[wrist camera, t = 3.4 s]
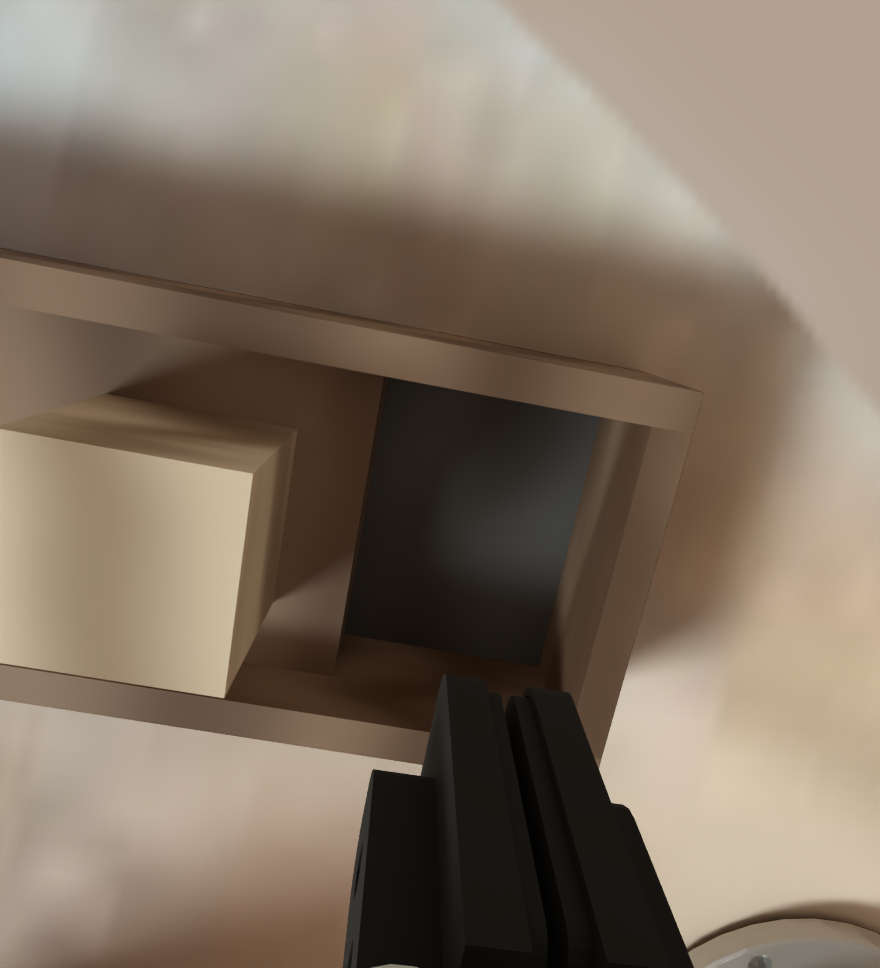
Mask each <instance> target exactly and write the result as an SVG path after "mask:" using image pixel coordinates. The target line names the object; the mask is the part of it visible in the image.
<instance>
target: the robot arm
mask: <svg viewBox="0 0 880 968" xmlns="http://www.w3.org/2000/svg"><path fill="white" fill-rule="evenodd" d="M343 968H880V935H879V934H878V933H876V932H873V931H870V930H867V929H864V928H861V927H858V926H855V925H852V924H849V923H843V922H836V921H830V920H823V919H781V920H775V921H769V922H763V923H758V924H752V925H749V926H746V927H743V928H740V929H737V930H734V931H731V932H727V933H724V934H721V935H719V936H717V937H715V938H714V939H712V940H710V941H708V942H706V943H704V944H702V945H700V946H698V947H696V948H694V949H692V950H691V951H690V952H688V951H687V949H686V946H685V944H684V941H683V939H682V936H681V934H680V931H679V929H678V926H677V924H676V921H675V919H674V916H673V914H672V911H671V909H670V906H669V904H668V901H667V899H666V896H665V894H664V891H663V889H662V886H661V884H660V881H659V879H658V876H657V874H656V872H655V869H654V867H653V864H652V862H651V859H650V857H649V854H648V852H647V849H646V847H645V844H644V842H643V839H642V837H641V834H640V832H639V829H638V827H637V824H636V822H635V819H634V817H633V815H632V814H631V812H630V810H629V809H628V808H627V807H625V806H624V805H621V804H614V803H611V801H610V798H609V796H608V793H607V790H606V788H605V785H604V782H603V780H602V777H601V774H600V771H599V769H598V766H597V763H596V761H595V758H594V755H593V752H592V750H591V747H590V744H589V742H588V739H587V736H586V733H585V731H584V728H583V725H582V723H581V720H580V717H579V715H578V712H577V709H576V706H575V704H574V701H573V698H572V696H571V695H570V693H567V692H561V691H555V690H548V689H542V688H535V687H529V686H528V687H527V688H526V689H525V691H524V693H523V696H522V697H521V696H514V695H511V696H510V697H509V700H508V702H507V706H506V710H505V714H504V708H503V703H502V698H501V695H500V694H499V693H494V692H488V687H487V683H486V680H483V679H477V678H470V677H464V676H457V675H451V674H444V675H443V677H442V680H441V684H440V688H439V693H438V697H437V702H436V707H435V711H434V716H433V721H432V725H431V730H430V735H429V739H428V744H427V749H426V753H425V758H424V763H423V767H422V772H421V776H416V775H409V774H402V773H395V772H388V771H381V770H374V769H373V771H372V774H371V778H370V782H369V787H368V792H367V797H366V803H365V808H364V813H363V818H362V824H361V829H360V835H359V841H358V847H357V854H356V860H355V867H354V874H353V882H352V890H351V898H350V907H349V916H348V925H347V935H346V944H345V953H344V962H343Z"/></svg>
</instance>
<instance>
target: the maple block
mask: <svg viewBox="0 0 880 968" xmlns="http://www.w3.org/2000/svg"><path fill="white" fill-rule="evenodd" d="M297 431H298V429H297V428H291V427H286V426H280V425H275V424H269V423H264V422H258V421H253V420H247V419H242V418H236V417H231V416H225V415H220V414H214V413H209V412H203V411H198V410H192V409H187V408H181V407H176V406H170V405H165V404H159V403H154V402H148V401H143V400H137V399H132V398H126V397H121V396H115V395H110V394H103V395H100V396H96V397H93V398H90V399H86V400H83V401H80V402H76V403H73V404H70V405H66V406H63V407H59V408H56V409H53V410H49V411H46V412H43V413H39V414H36V415H33V416H29V417H26V418H23V419H19V420H16V421H12V422H9V423H6V424H2V425H0V663H3V664H10V665H16V666H22V667H29V668H35V669H41V670H48V671H54V672H61V673H67V674H73V675H80V676H86V677H92V678H99V679H105V680H111V681H118V682H124V683H130V684H137V685H143V686H149V687H156V688H162V689H168V690H175V691H181V692H187V693H194V694H200V695H206V696H213V697H219V698H225V696H226V694H227V692H228V690H229V688H230V686H231V684H232V682H233V680H234V678H235V676H236V674H237V672H238V670H239V668H240V666H241V664H242V662H243V660H244V658H245V656H246V655H247V653H248V651H249V649H250V647H251V645H252V643H253V641H254V639H255V637H256V635H257V633H258V631H259V629H260V627H261V625H262V623H263V621H264V619H265V617H266V615H267V613H268V611H269V609H270V607H271V605H272V603H273V600H274V593H275V586H276V579H277V572H278V565H279V558H280V551H281V544H282V537H283V530H284V523H285V516H286V509H287V502H288V495H289V487H290V480H291V473H292V466H293V459H294V452H295V445H296V438H297Z"/></svg>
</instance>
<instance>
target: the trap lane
mask: <svg viewBox="0 0 880 968" xmlns="http://www.w3.org/2000/svg"><path fill="white" fill-rule="evenodd" d="M103 394H110V395H115V396H121V397H126V398H132V399H137V400H143V401H148V402H154V403H159V404H165V405H170V406H176V407H181V408H187V409H192V410H198V411H203V412H209V413H214V414H220V415H225V416H231V417H236V418H242V419H247V420H253V421H258V422H264V423H269V424H275V425H280V426H286V427H291V428H297V429H298V431H297V438H296V445H295V452H294V459H293V466H292V473H291V480H290V487H289V495H288V502H287V509H286V516H285V523H284V530H283V537H282V544H281V551H280V558H279V565H278V572H277V579H276V586H275V593H274V600H273V603H272V605H271V607H270V609H269V611H268V613H267V615H266V617H265V619H264V621H263V623H262V625H261V627H260V629H259V631H258V633H257V635H256V637H255V639H254V641H253V643H252V645H251V647H250V649H249V651H248V653H247V655H246V656H245V658H244V660H243V662H242V664H241V666H240V668H239V670H238V672H237V674H236V676H235V678H234V680H233V682H232V684H231V686H230V688H229V690H228V692H227V694H226V696H225V698H219V697H213V696H206V695H200V694H194V693H187V692H181V691H175V690H168V689H162V688H156V687H149V686H143V685H137V684H130V683H124V682H118V681H111V680H105V679H99V678H92V677H86V676H80V675H73V674H67V673H61V672H54V671H48V670H41V669H35V668H29V667H22V666H16V665H10V664H3V663H0V700H6V701H13V702H19V703H26V704H32V705H39V706H45V707H52V708H58V709H65V710H71V711H78V712H84V713H91V714H97V715H103V716H110V717H116V718H123V719H129V720H136V721H142V722H149V723H155V724H162V725H168V726H175V727H181V728H188V729H194V730H201V731H207V732H214V733H220V734H226V735H233V736H239V737H246V738H252V739H259V740H265V741H272V742H278V743H285V744H291V745H298V746H304V747H311V748H317V749H324V750H330V751H337V752H343V753H349V754H356V755H362V756H369V757H375V758H382V759H388V760H395V761H401V762H408V763H414V764H421V765H423V763H424V758H425V753H426V749H427V744H428V739H429V735H430V730H431V725H432V721H433V716H434V711H435V707H436V702H437V697H438V693H439V688H440V684H441V680H442V677H443V675H444V674H451V675H457V676H464V677H470V678H477V679H483V680H486V683H487V687H488V692H494V693H499V694H500V695H501V698H502V703H503V708H504V714H505V710H506V706H507V702H508V700H509V697H510V696H511V695H514V696H521V697H522V696H523V693H524V691H525V689H526V688H527V687H528V686H529V687H535V688H542V689H548V690H555V691H561V692H567V693H570V695H571V696H572V698H573V701H574V704H575V706H576V709H577V712H578V715H579V717H580V720H581V723H582V725H583V728H584V731H585V733H586V736H587V739H588V742H589V744H590V747H591V750H592V752H593V755H594V758H595V761H596V763H597V766H598V769H599V765H600V762H601V758H602V755H603V751H604V748H605V744H606V740H607V737H608V733H609V730H610V726H611V723H612V719H613V716H614V712H615V708H616V705H617V701H618V698H619V694H620V691H621V687H622V683H623V680H624V676H625V673H626V669H627V666H628V662H629V658H630V655H631V651H632V648H633V644H634V641H635V637H636V634H637V630H638V626H639V623H640V619H641V616H642V612H643V609H644V605H645V601H646V598H647V594H648V591H649V587H650V584H651V580H652V576H653V573H654V569H655V566H656V562H657V559H658V555H659V552H660V548H661V544H662V541H663V537H664V534H665V530H666V527H667V523H668V519H669V516H670V512H671V509H672V505H673V502H674V498H675V494H676V491H677V487H678V484H679V480H680V477H681V473H682V470H683V466H684V462H685V459H686V455H687V452H688V448H689V445H690V441H691V437H692V434H693V430H694V427H695V423H696V420H697V416H698V412H699V409H700V405H701V402H702V398H703V395H704V393H703V392H700V391H697V390H694V389H691V388H688V387H686V386H683V385H680V384H677V383H674V382H671V381H668V380H665V379H662V378H659V377H657V376H654V375H651V374H648V373H645V372H642V371H637V370H631V369H626V368H621V367H616V366H611V365H605V364H600V363H595V362H590V361H585V360H580V359H574V358H569V357H564V356H559V355H554V354H548V353H543V352H538V351H533V350H528V349H522V348H517V347H512V346H507V345H502V344H496V343H491V342H486V341H481V340H476V339H471V338H465V337H460V336H455V335H450V334H445V333H439V332H434V331H429V330H424V329H419V328H413V327H408V326H403V325H398V324H393V323H387V322H382V321H377V320H372V319H367V318H362V317H356V316H351V315H346V314H341V313H336V312H330V311H325V310H320V309H315V308H310V307H304V306H299V305H294V304H289V303H284V302H279V301H273V300H268V299H263V298H258V297H253V296H247V295H242V294H237V293H232V292H227V291H221V290H216V289H211V288H206V287H201V286H195V285H190V284H185V283H180V282H175V281H170V280H164V279H159V278H154V277H149V276H144V275H138V274H133V273H128V272H123V271H118V270H112V269H107V268H102V267H97V266H92V265H86V264H81V263H76V262H71V261H66V260H61V259H55V258H50V257H45V256H40V255H35V254H29V253H24V252H19V251H14V250H9V249H3V248H0V425H2V424H6V423H9V422H12V421H16V420H19V419H23V418H26V417H29V416H33V415H36V414H39V413H43V412H46V411H49V410H53V409H56V408H59V407H63V406H66V405H70V404H73V403H76V402H80V401H83V400H86V399H90V398H93V397H96V396H100V395H103Z"/></svg>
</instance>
